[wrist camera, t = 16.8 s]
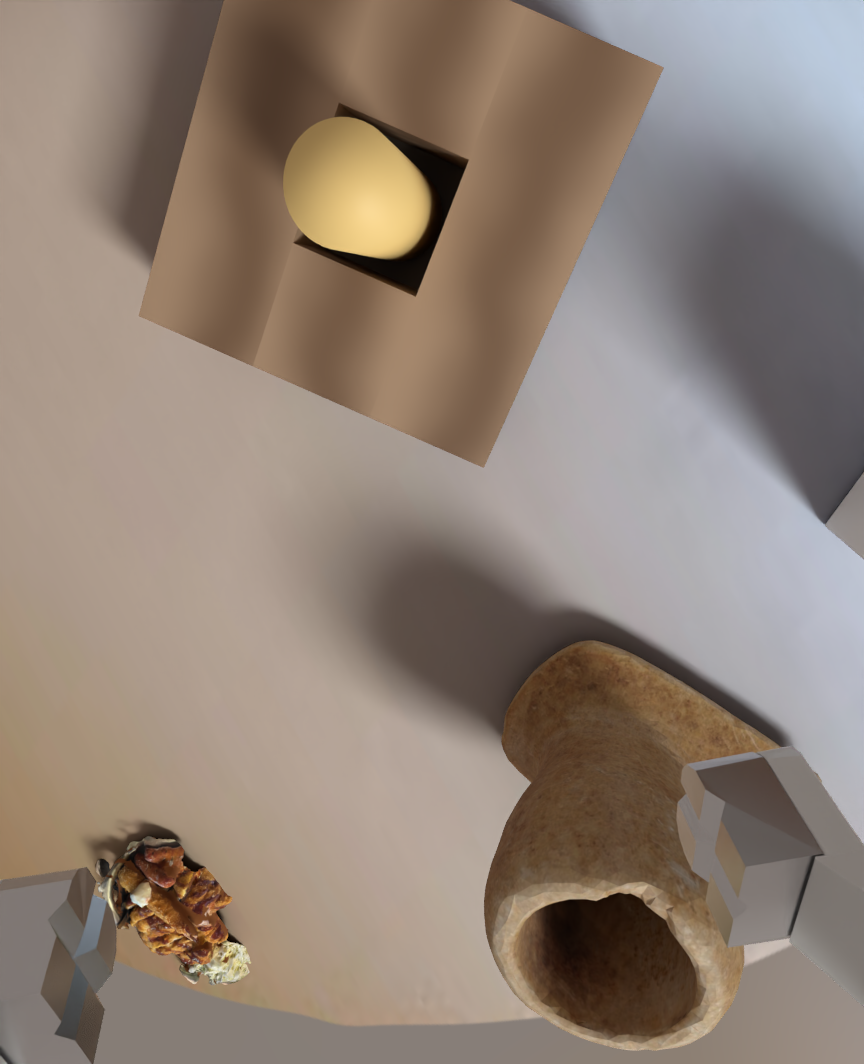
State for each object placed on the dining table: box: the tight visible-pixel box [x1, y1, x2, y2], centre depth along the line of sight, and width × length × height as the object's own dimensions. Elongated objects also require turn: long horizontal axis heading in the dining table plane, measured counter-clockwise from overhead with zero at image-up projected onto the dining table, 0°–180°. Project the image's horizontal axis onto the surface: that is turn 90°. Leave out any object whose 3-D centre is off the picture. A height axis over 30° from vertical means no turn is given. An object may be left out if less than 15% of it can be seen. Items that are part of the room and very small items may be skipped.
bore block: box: [139, 0, 664, 468], centre depth 33 cm, size 16×16×6 cm
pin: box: [283, 117, 442, 262], centre depth 30 cm, size 4×4×10 cm
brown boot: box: [484, 640, 822, 1051], centre depth 36 cm, size 15×12×15 cm
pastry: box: [96, 836, 251, 985], centre depth 49 cm, size 7×12×4 cm, turn 35°
